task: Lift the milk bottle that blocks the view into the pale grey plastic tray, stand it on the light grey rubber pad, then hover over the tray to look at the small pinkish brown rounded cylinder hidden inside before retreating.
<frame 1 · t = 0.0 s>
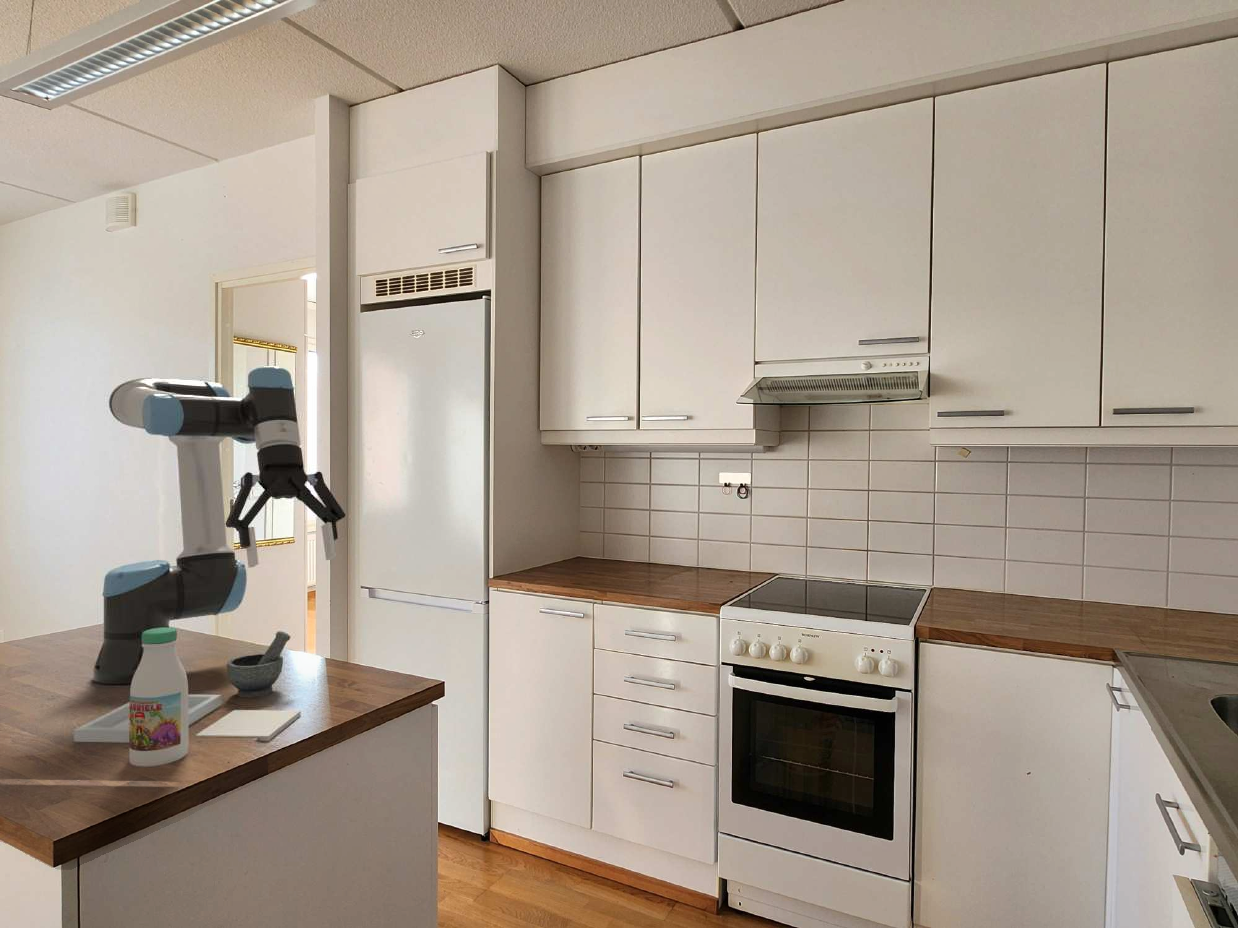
hand: (293, 562, 133), 28 cm above the worktop, tool tilted 20°, fingers open, 13 cm apart
pad: (250, 726, 129), on the worktop
mortar and pestle: (259, 695, 146), on the worktop
milk bottle: (159, 760, 115), on the worktop
pinkish brown rounded cylinder: (152, 727, 127), point 1 cm above the worktop, touching tray
tray: (152, 725, 129), on the worktop
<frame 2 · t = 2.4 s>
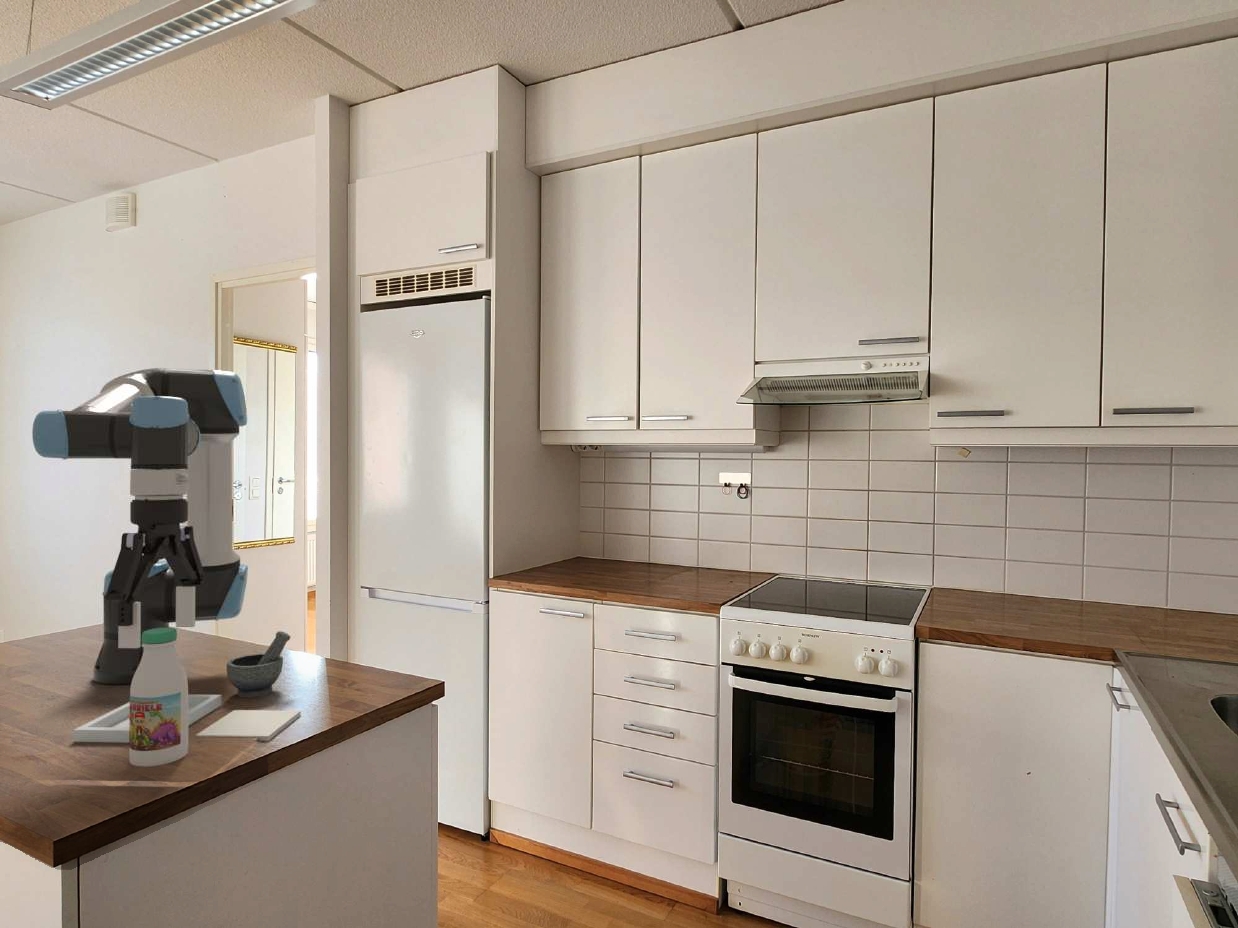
hand: (159, 636, 114), 19 cm above the worktop, tool pointing down, fingers open, 13 cm apart
nothing on the worktop moved.
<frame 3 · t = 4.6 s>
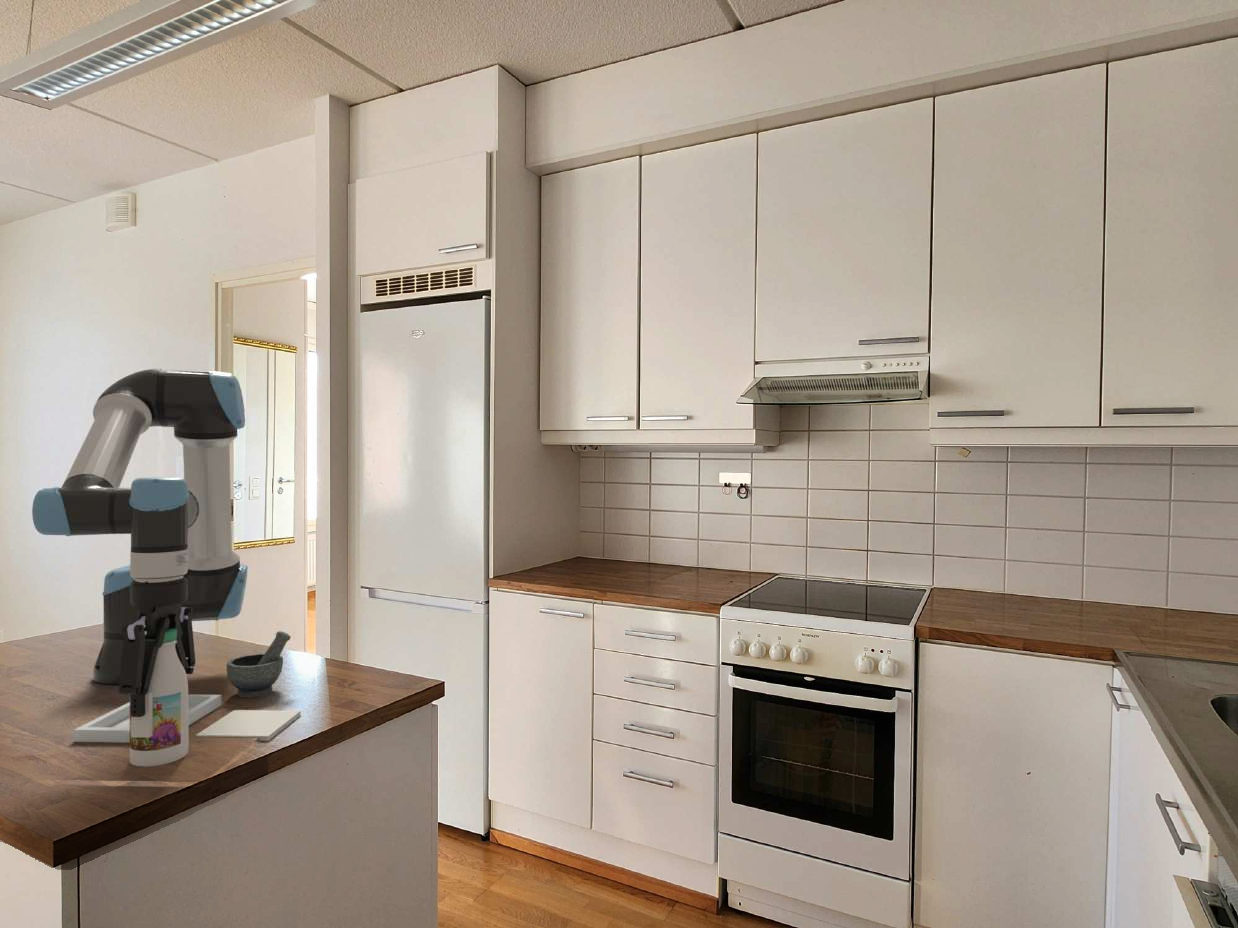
hand: (159, 725, 115), 5 cm above the worktop, tool pointing down, fingers closed on milk bottle, 8 cm apart
milk bottle: (159, 760, 115), on the worktop, touching gripper
everything else where it was.
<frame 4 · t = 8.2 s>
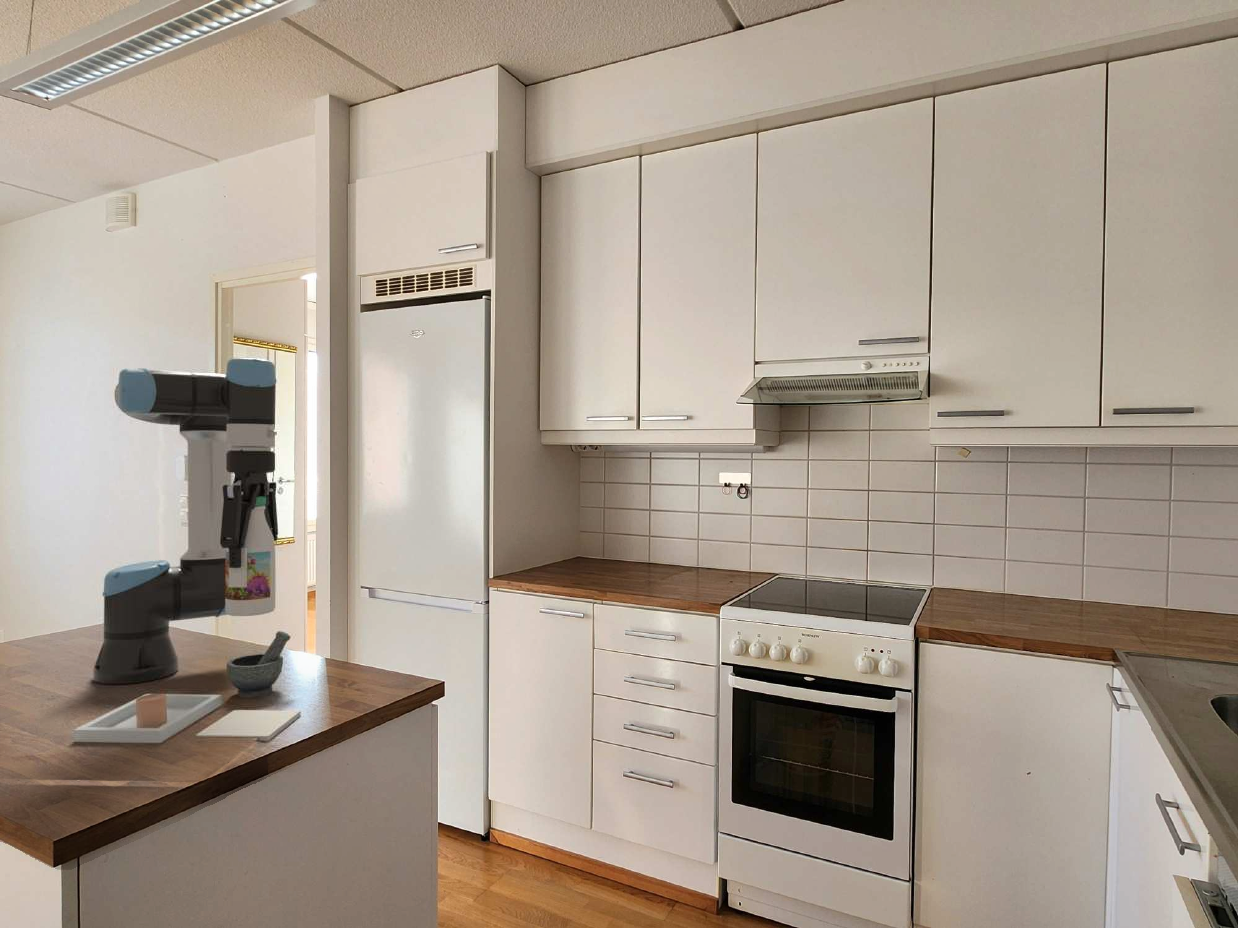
hand: (250, 582, 129), 25 cm above the worktop, tool pointing down, fingers closed on milk bottle, 8 cm apart
milk bottle: (250, 613, 129), point 20 cm above the worktop, touching gripper
everything else where it was.
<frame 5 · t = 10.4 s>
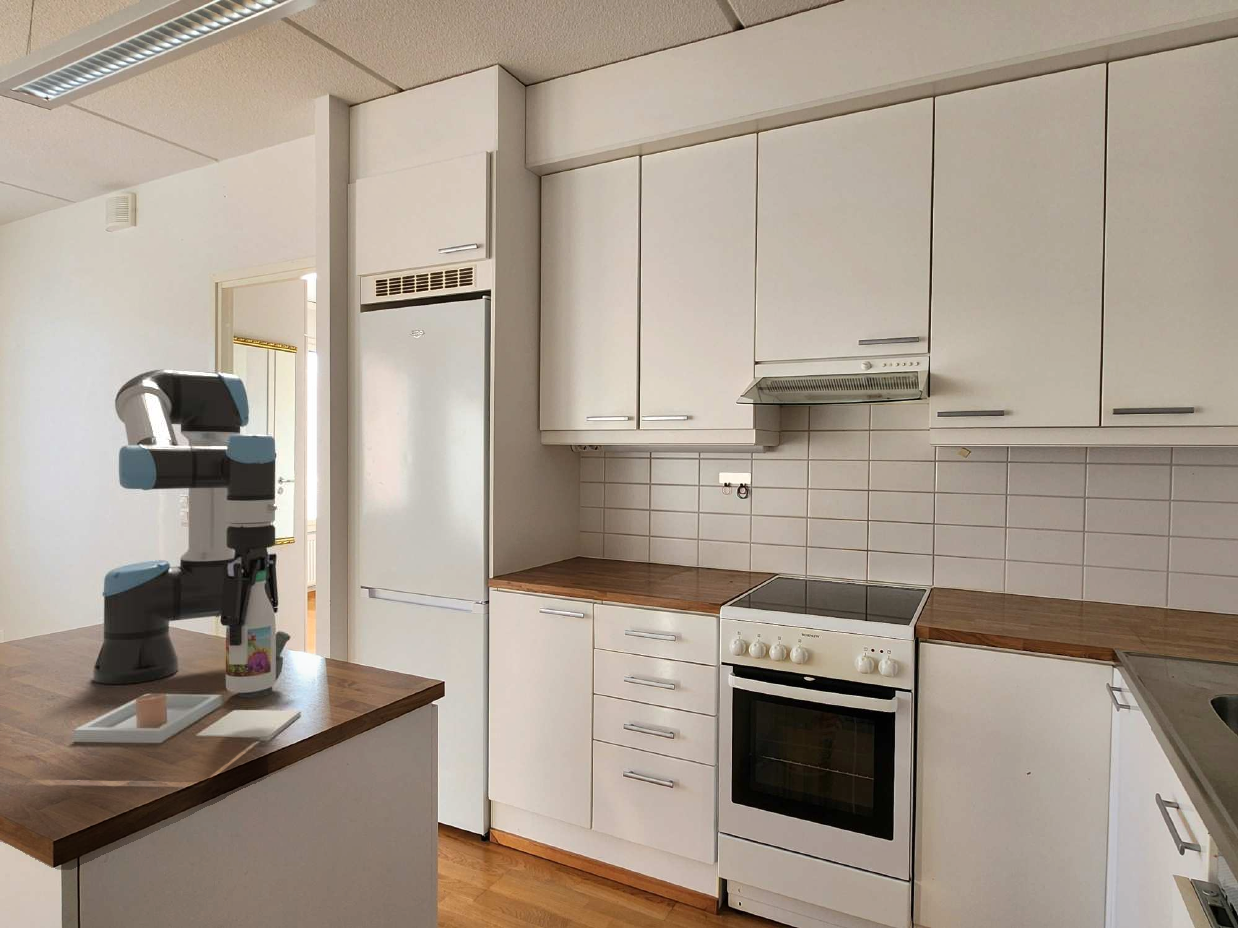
hand: (250, 656, 129), 12 cm above the worktop, tool pointing down, fingers closed on milk bottle, 8 cm apart
milk bottle: (251, 687, 129), point 7 cm above the worktop, touching gripper
everything else where it was.
when the fingers open (8 cm above the worktop, at t = 12.2 s): milk bottle drops 2 cm, resting on pad.
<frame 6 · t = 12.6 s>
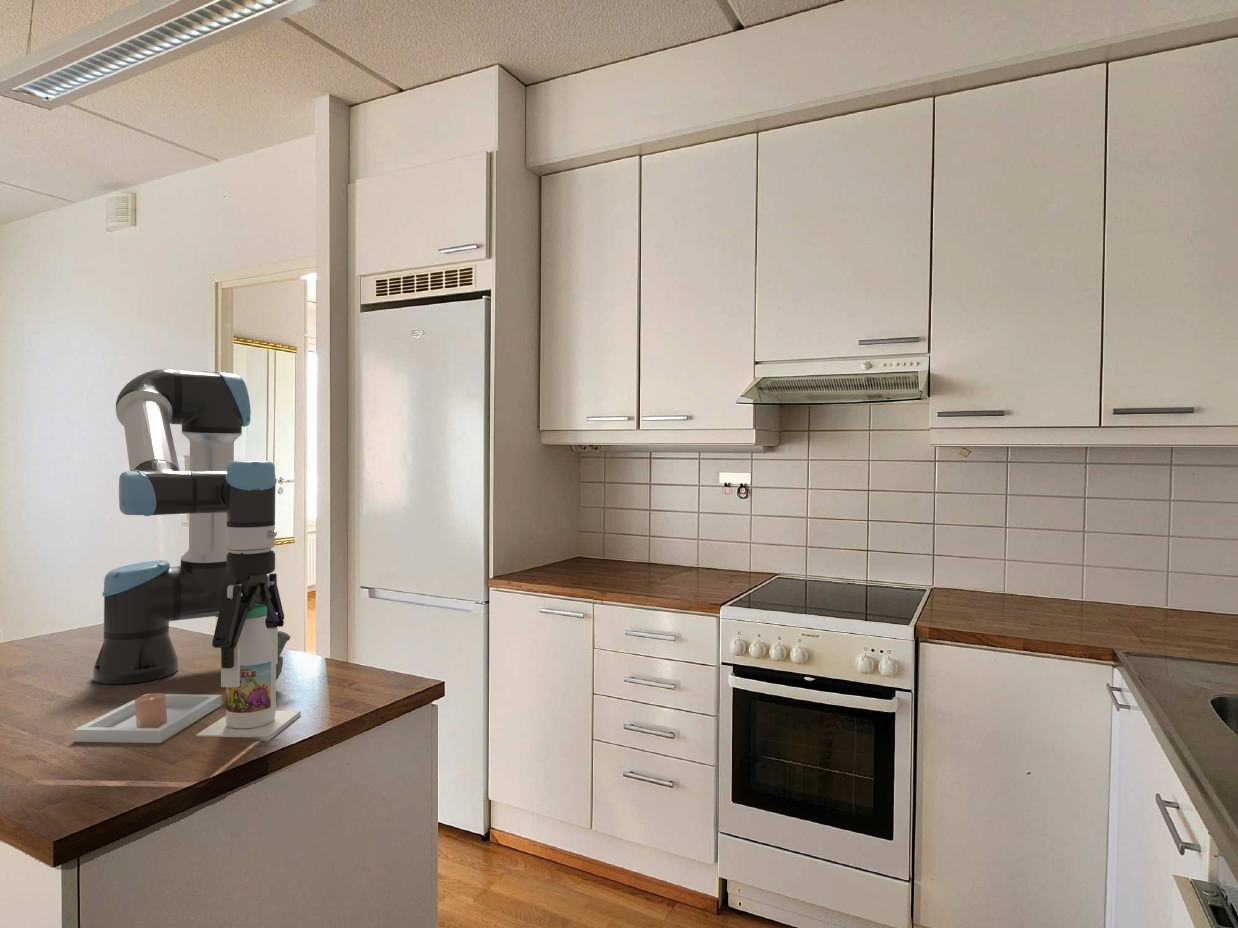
hand: (250, 674, 129), 9 cm above the worktop, tool pointing down, fingers open, 12 cm apart
milk bottle: (250, 722, 129), point 1 cm above the worktop, touching pad
everything else where it was.
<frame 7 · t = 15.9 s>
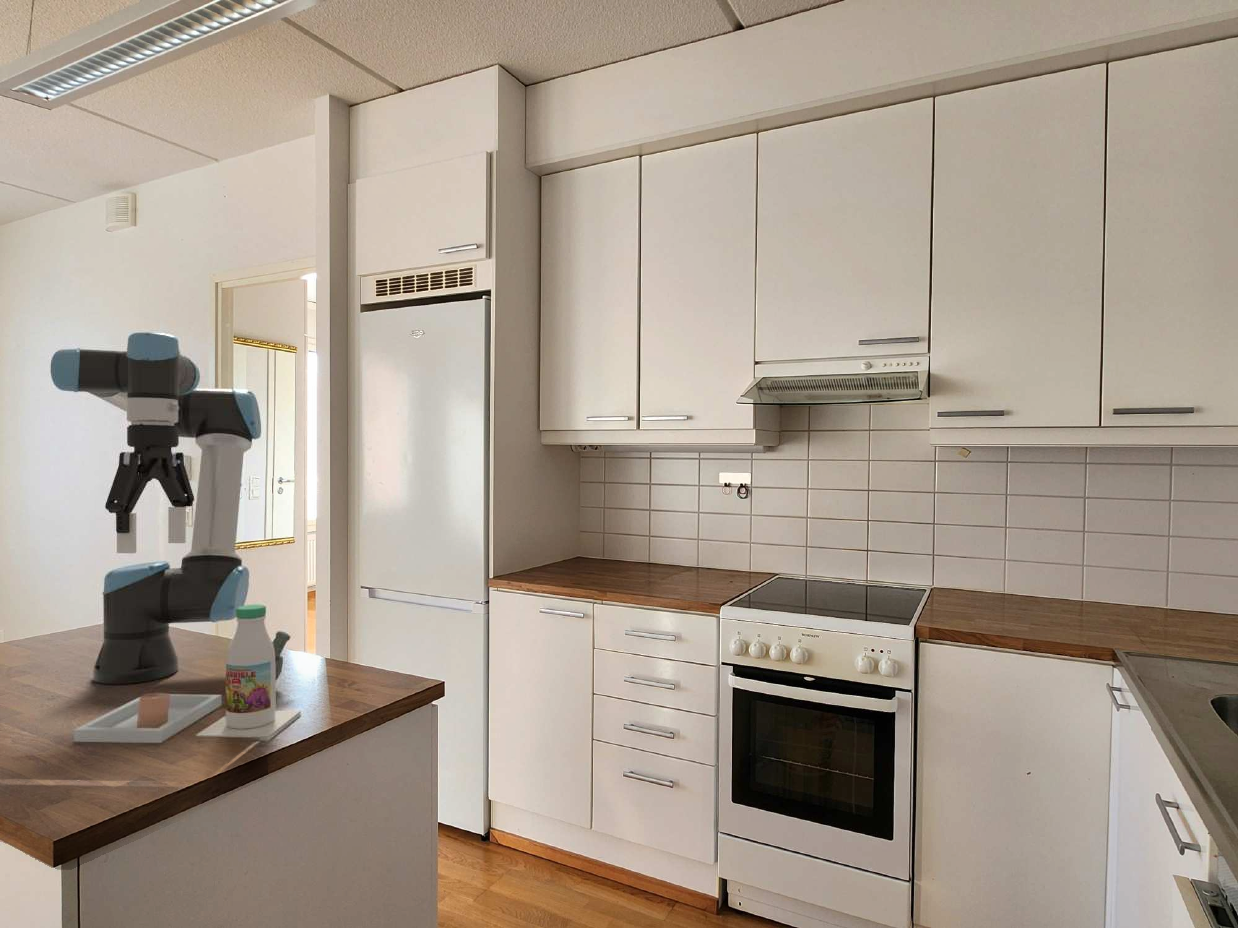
hand: (153, 547, 129), 31 cm above the worktop, tool pointing down, fingers open, 13 cm apart
nothing on the worktop moved.
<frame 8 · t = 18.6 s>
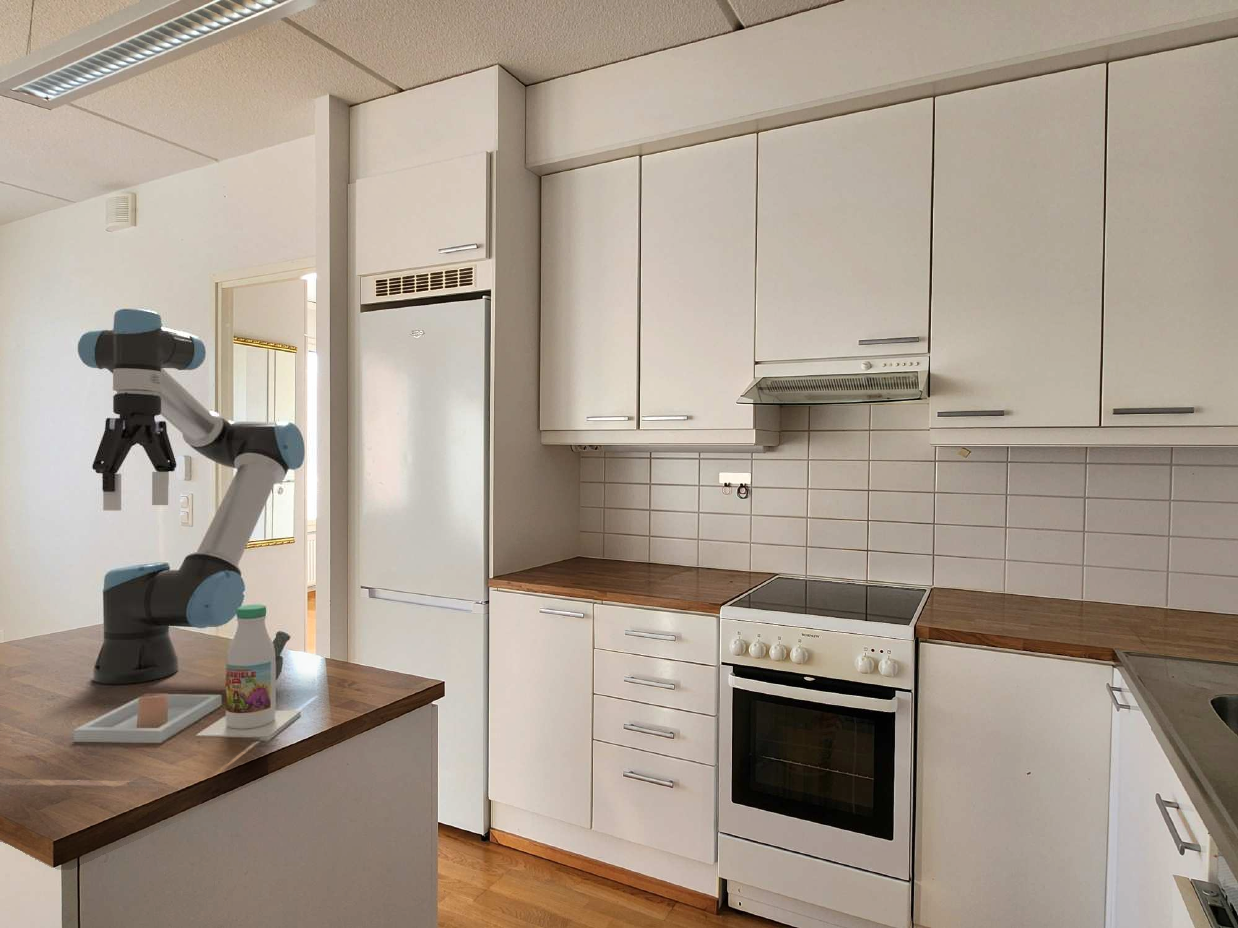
hand: (137, 507, 140), 37 cm above the worktop, tool pointing down, fingers open, 13 cm apart
nothing on the worktop moved.
at the end: milk bottle inside the target area on the pad (0.1 cm from its centre), point 0.6 cm above the pad's base; milk bottle tilted 0°; the gripper is holding nothing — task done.
